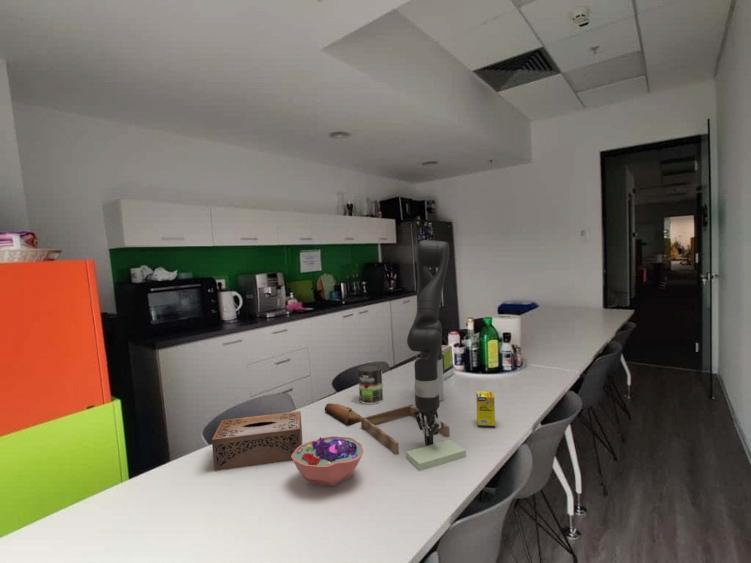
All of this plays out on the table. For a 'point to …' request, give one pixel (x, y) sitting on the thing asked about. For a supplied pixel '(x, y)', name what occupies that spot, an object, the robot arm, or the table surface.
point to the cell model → (327, 459)
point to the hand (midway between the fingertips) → (429, 445)
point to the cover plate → (435, 454)
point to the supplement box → (485, 409)
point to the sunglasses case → (343, 413)
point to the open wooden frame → (380, 418)
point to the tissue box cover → (256, 440)
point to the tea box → (447, 361)
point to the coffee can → (370, 384)
